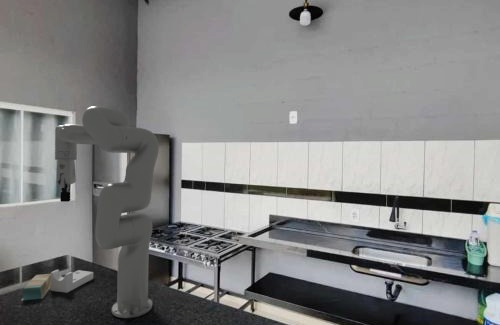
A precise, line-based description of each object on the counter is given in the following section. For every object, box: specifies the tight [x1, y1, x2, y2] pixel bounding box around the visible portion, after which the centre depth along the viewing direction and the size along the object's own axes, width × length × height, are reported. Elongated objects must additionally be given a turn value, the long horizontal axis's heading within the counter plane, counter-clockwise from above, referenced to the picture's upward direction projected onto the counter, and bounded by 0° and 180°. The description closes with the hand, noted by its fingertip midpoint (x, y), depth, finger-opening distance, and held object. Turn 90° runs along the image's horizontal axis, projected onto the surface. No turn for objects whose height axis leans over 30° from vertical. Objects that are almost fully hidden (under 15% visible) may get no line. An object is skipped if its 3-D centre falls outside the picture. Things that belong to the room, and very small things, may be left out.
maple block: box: [22, 273, 51, 301], centre depth 109 cm, size 4×5×12 cm
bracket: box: [50, 269, 94, 294], centre depth 116 cm, size 13×7×8 cm, turn 167°
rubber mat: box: [20, 285, 51, 301], centre depth 113 cm, size 19×6×1 cm, turn 18°
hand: (65, 201), depth 124 cm, fingers closed
